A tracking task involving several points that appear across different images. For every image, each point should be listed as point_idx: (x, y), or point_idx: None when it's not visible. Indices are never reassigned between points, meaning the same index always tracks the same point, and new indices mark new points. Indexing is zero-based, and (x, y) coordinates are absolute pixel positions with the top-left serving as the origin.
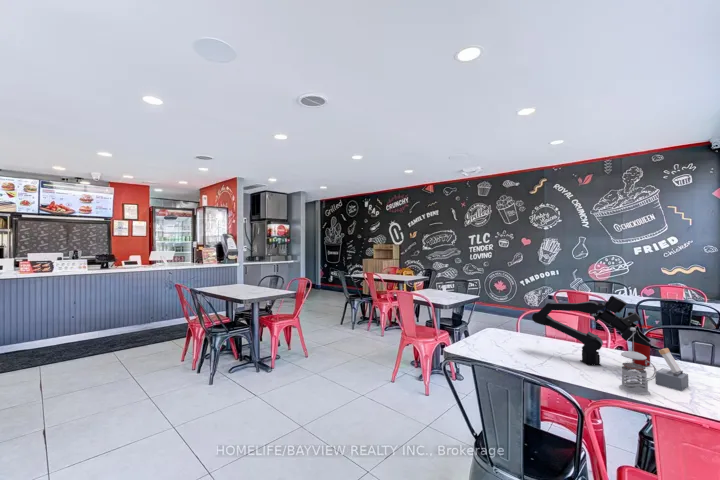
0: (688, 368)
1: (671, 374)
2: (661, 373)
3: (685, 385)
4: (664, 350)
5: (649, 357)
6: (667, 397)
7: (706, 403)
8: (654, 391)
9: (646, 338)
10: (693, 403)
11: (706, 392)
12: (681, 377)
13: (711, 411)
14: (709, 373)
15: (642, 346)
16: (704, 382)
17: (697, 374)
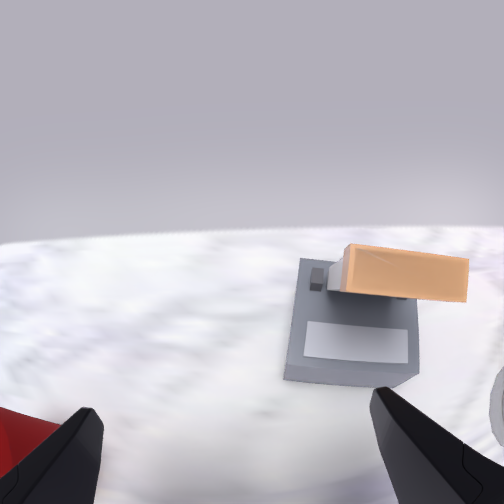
0: (23, 297)
1: (389, 310)
2: (416, 346)
3: None
4: (454, 258)
5: (45, 423)
6: (497, 318)
7: (441, 238)
8: (484, 360)
9: (80, 448)
10: (475, 261)
11: (321, 242)
12: None
13: (484, 229)
14: (50, 248)
15: (18, 452)
16: (176, 253)
17: (79, 274)
